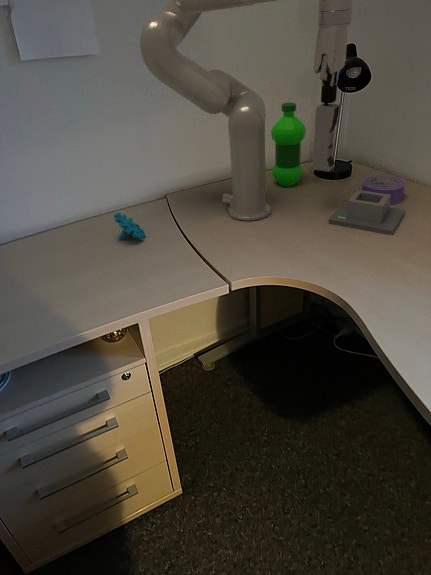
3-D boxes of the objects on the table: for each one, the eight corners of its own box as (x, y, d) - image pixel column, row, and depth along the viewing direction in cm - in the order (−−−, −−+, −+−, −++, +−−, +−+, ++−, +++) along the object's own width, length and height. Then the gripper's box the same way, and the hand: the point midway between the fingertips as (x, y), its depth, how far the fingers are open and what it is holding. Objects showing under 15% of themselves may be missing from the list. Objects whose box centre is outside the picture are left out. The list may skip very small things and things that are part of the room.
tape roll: (355, 202, 139) (357, 186, 136) (367, 188, 147) (369, 172, 144) (396, 208, 133) (399, 192, 131) (406, 193, 142) (409, 178, 139)
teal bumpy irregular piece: (145, 240, 124) (114, 217, 120) (132, 256, 125) (101, 234, 122) (148, 227, 133) (119, 205, 130) (135, 242, 135) (106, 221, 132)
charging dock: (328, 223, 128) (330, 202, 125) (344, 204, 138) (346, 184, 134) (391, 235, 120) (395, 213, 117) (404, 213, 130) (408, 192, 127)
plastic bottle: (305, 178, 157) (309, 100, 143) (298, 190, 149) (301, 108, 135) (276, 176, 160) (277, 100, 146) (268, 187, 152) (268, 108, 138)
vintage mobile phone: (329, 172, 126) (337, 71, 112) (312, 169, 128) (318, 71, 114) (334, 167, 128) (343, 69, 114) (317, 165, 131) (323, 68, 117)
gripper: (330, 16, 115) (324, 94, 125) (306, 22, 105) (302, 108, 115) (360, 15, 112) (352, 96, 122) (339, 22, 101) (332, 110, 111)
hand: (328, 101), depth 118 cm, fingers closed on vintage mobile phone, 1 cm apart
